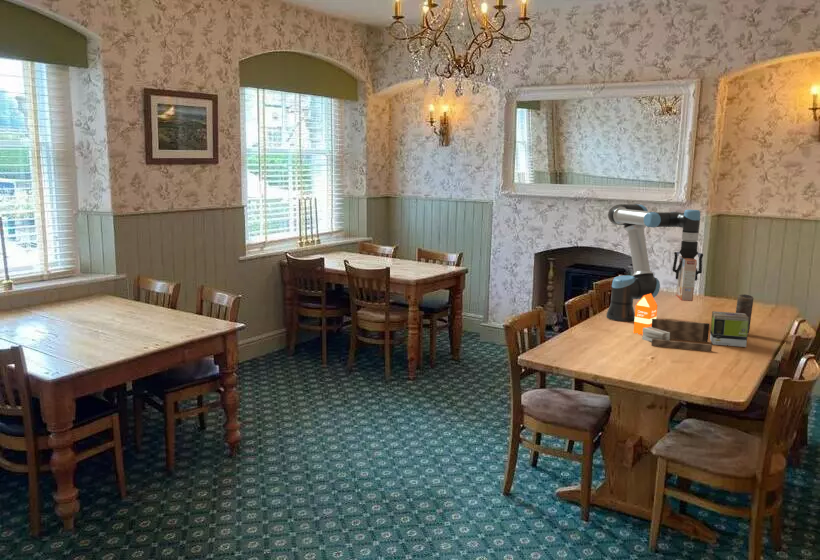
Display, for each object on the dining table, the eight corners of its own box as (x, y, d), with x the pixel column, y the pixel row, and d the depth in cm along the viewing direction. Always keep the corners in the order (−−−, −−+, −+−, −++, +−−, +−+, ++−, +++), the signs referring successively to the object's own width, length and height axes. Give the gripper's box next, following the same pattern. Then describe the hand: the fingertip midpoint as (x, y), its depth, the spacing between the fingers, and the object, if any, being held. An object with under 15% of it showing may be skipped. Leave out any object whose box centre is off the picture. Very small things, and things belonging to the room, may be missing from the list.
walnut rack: (651, 345, 317) (653, 327, 315) (650, 336, 334) (652, 318, 333) (711, 351, 309) (713, 332, 308) (707, 341, 327) (709, 323, 325)
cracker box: (693, 301, 333) (697, 260, 329) (680, 301, 334) (684, 259, 330) (688, 296, 346) (691, 256, 343) (675, 295, 348) (679, 255, 344)
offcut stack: (661, 345, 318) (662, 333, 317) (641, 339, 329) (642, 327, 328) (670, 344, 321) (671, 332, 319) (649, 338, 331) (650, 326, 330)
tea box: (742, 342, 326) (746, 312, 324) (746, 347, 317) (749, 317, 314) (709, 339, 331) (712, 310, 328) (711, 344, 321) (714, 314, 319)
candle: (749, 333, 344) (753, 295, 340) (749, 336, 337) (754, 297, 334) (732, 331, 347) (736, 293, 344) (732, 334, 341) (737, 296, 337)
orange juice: (655, 332, 341) (658, 294, 338) (647, 336, 335) (651, 296, 331) (640, 330, 346) (643, 292, 343) (632, 333, 340) (636, 294, 337)
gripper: (669, 240, 335) (665, 286, 339) (711, 242, 329) (706, 289, 333) (668, 238, 342) (664, 283, 346) (709, 241, 336) (705, 286, 340)
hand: (685, 286), depth 339 cm, fingers closed on cracker box, 6 cm apart
